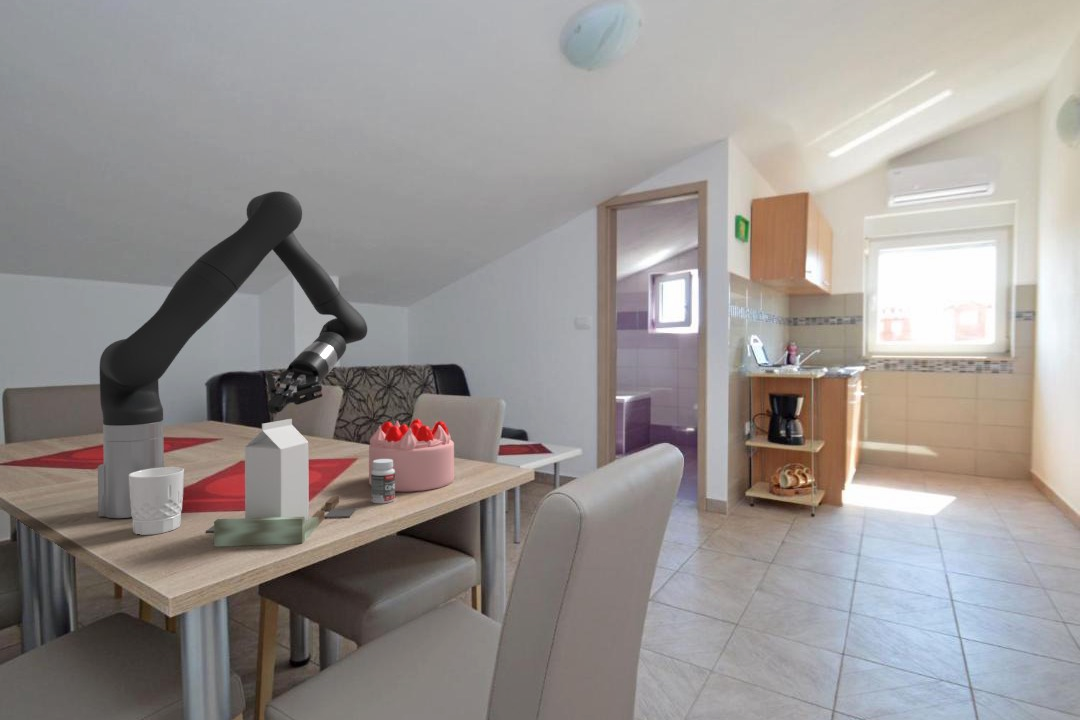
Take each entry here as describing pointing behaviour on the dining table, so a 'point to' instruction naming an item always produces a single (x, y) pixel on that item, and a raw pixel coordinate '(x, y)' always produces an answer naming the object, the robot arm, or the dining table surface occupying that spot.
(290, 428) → the milk carton
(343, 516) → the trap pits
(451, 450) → the cake
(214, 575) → the dining table surface
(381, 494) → the pill bottle
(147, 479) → the white cup
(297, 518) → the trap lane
